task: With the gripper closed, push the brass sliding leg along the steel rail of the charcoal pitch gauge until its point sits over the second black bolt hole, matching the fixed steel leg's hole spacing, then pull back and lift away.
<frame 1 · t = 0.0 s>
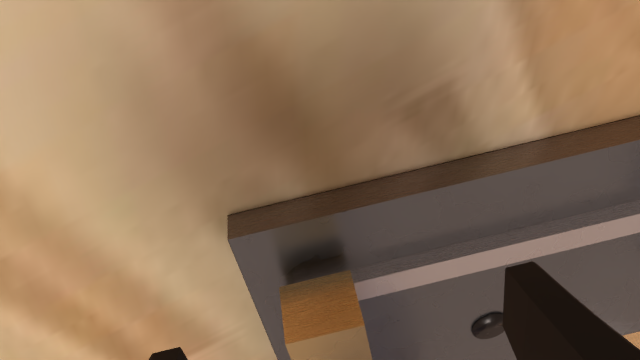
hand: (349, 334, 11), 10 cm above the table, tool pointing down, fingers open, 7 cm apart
brass slider: (335, 357, 23), point 4 cm above the table, slide at 0.0 cm
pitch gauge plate: (517, 256, 26), on the table
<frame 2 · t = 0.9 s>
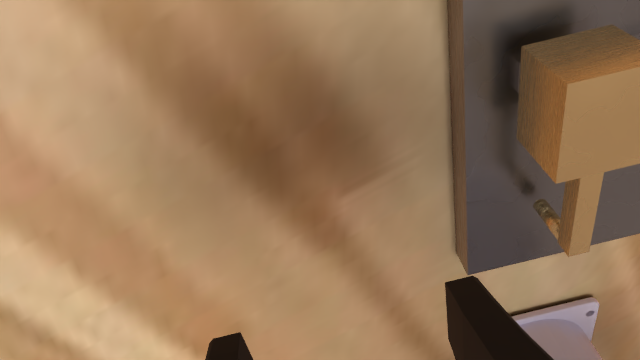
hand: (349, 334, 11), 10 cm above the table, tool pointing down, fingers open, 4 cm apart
brass slider: (571, 155, 18), point 4 cm above the table, slide at 0.0 cm
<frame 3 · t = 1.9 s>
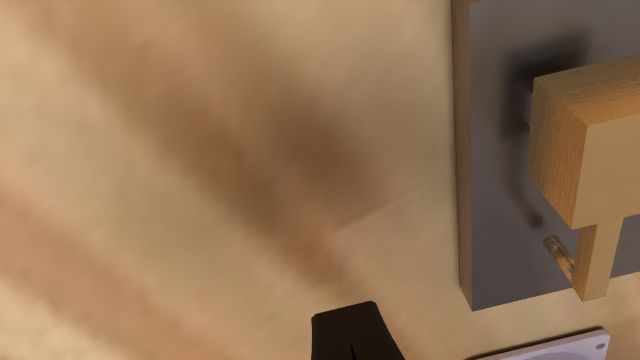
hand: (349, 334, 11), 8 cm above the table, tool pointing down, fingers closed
brass slider: (586, 194, 17), point 4 cm above the table, slide at 0.0 cm
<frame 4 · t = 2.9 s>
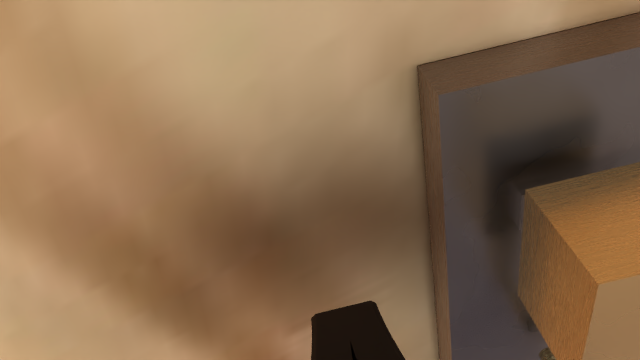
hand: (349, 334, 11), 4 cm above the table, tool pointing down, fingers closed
brass slider: (594, 324, 13), point 4 cm above the table, slide at 0.0 cm
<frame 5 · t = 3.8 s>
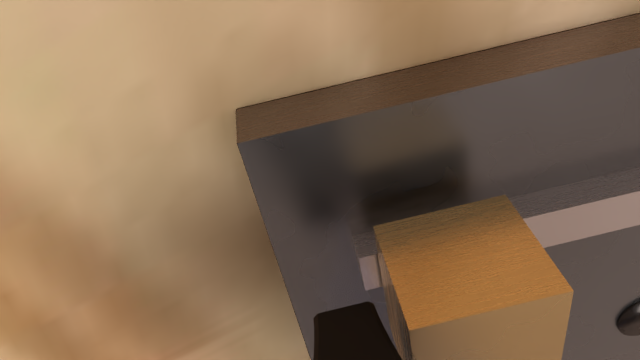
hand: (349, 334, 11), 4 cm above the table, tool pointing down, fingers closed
brass slider: (460, 357, 13), point 4 cm above the table, slide at 0.9 cm, touching gripper
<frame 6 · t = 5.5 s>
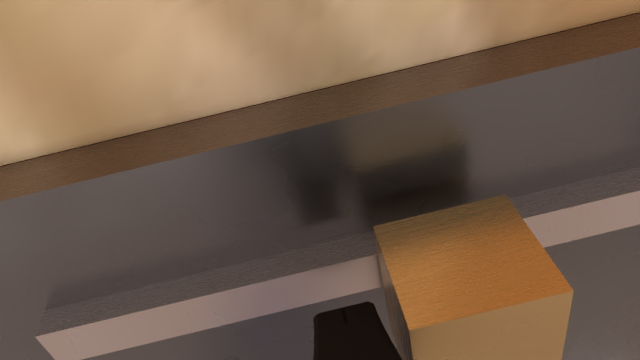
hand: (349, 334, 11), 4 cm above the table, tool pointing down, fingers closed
brass slider: (460, 357, 13), point 4 cm above the table, slide at 8.9 cm, touching gripper
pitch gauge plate: (453, 261, 16), on the table
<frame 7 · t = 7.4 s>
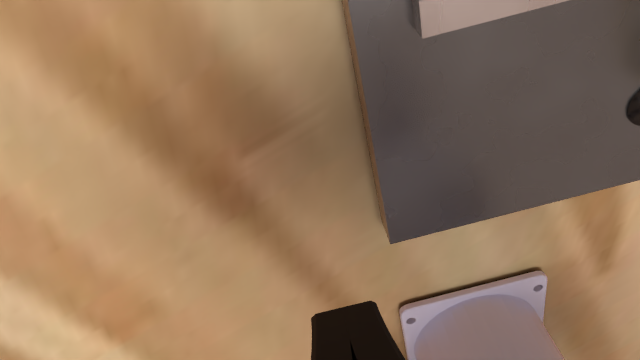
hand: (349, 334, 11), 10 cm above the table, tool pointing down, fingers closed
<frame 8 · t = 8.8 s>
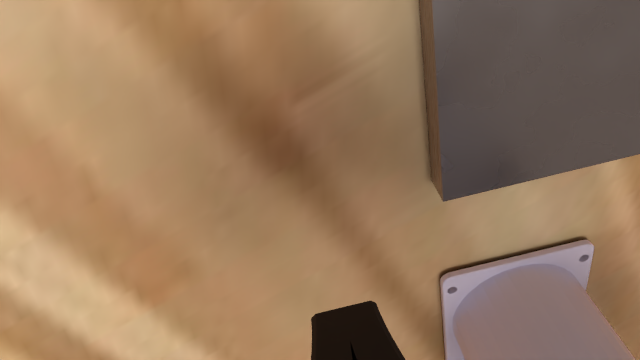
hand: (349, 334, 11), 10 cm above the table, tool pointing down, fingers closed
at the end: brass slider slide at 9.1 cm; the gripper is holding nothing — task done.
